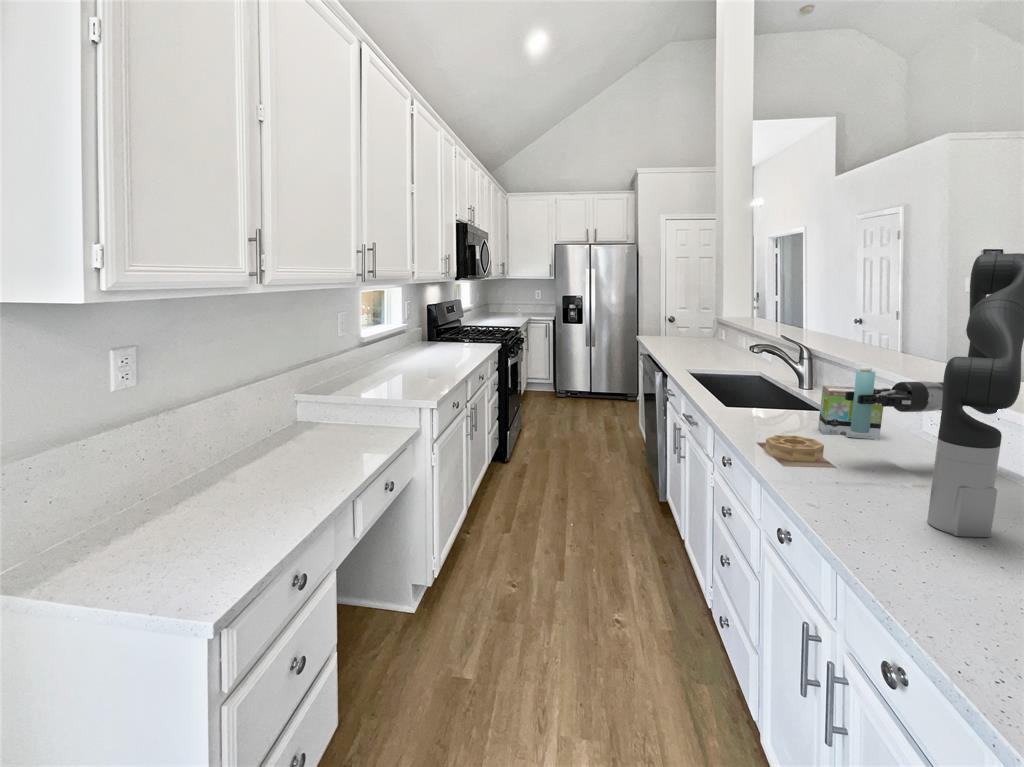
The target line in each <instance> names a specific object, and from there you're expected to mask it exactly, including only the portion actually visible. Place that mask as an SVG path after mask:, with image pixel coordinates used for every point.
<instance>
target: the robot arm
mask: <svg viewBox="0 0 1024 767" xmlns="http://www.w3.org/2000/svg"><path fill="white" fill-rule="evenodd" d="M965 332H966V336H967V338H968V340H969V346H968V352H967V353H968V354H967V356H954V357H951V358H950V359H949V360H948V361H947V364H945V365H946V366H945V369H944V373H943V380H942V381H941V382H940V381H935V382H934V381H933V382H932V381H900V382H896V383H895V384H894V386H892V388H890V387H889V388H888V387H883V388H875V387H874V391H873V395H858V400H857V403H858V404H874V405H881V406H883V408H884V407H890V408H892V407H893V408H894V409H895V410H896V411H898V412H901V413H919V412H922V413H923V412H925V413H926V412H934V411H935V412H936V411H941V412H940V422H939V429H938V435H937V443H936V452H935V457H934V458H935V459H934V464H933V465H934V466H933V471H932V472H933V473H932V480H931V488H930V495H929V496H930V497H929V505H928V513H927V523H928V524H929V525H930V526H931V527H933V528H936V529H938V530H940V531H943V532H946V533H948V534H951V535H953V536H956V537H969V538H970V537H975V538H991V536H992V528H993V522H994V515H995V509H996V502H997V496H998V489H997V488H996V487H995V485H996V479H997V470H998V464H999V457H1000V450H1001V443H1002V436H1003V435H1002V432H1001V430H999V428H997V427H994V426H992V425H990V424H987V423H986V422H985V423H984V422H982V421H980V420H978V419H976V418H975V417H973V416H971V415H970V414H969V413H967V412H966V411H965V410H964V408H963V407H970V409H971V408H972V409H973V410H975V411H977V412H979V413H981V414H984V415H994V414H997V413H998V412H997V410H998V409H1001V410H1006V409H1009V408H1011V407H1013V406H1014V404H1015V402H1017V399H1018V397H1019V394H1020V391H1021V390H1020V389H1021V383H1022V351H1023V350H1022V349H1023V344H1024V253H1018V252H1017V253H985V254H984V253H983V254H980V255H978V256H977V257H976V258H975V260H974V262H973V265H972V268H971V272H970V281H969V317H968V319H967V324H966V328H965ZM845 400H848V401H853V400H854V391H849V392H846V394H845ZM996 412H997V413H996Z"/></svg>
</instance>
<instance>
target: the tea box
mask: <svg viewBox="0 0 1024 767" xmlns="http://www.w3.org/2000/svg"><path fill="white" fill-rule="evenodd" d="M854 389H855V386H844V385H843V386H839V385H823V386H822V389H821V390H822V391H821V399H820V407H819V418H818V430H819V431H820V433H822V434H823V435H825V436H826V435H827V436H844V437H845V438H855V439H865V440H866V439H867V440H874V439H878V440H879V439H880V437H881V436H880V435H881V428H882V422H883V413H884V407H883V406H881V405H874V404H872V411H871V421H870V431H869V433H858V432H853V431H851V420H852V410H853V401H848V400H845V394H846V392H849V391H854Z"/></svg>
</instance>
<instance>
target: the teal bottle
mask: <svg viewBox="0 0 1024 767" xmlns="http://www.w3.org/2000/svg"><path fill="white" fill-rule="evenodd" d="M859 369H860V370H856V371H855V379H854V380H855V381H854V387H855V389H854V400H853V410H852V420H851V431H853V432H858V433H869V431H870V421H871V411H872V404H858V403H857V400H858V395H873V391H874V388H875V381H876V380H875V379H876V372H875V371H873V367H868V366H860V367H859Z"/></svg>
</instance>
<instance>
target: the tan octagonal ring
mask: <svg viewBox="0 0 1024 767" xmlns="http://www.w3.org/2000/svg"><path fill="white" fill-rule="evenodd" d="M765 443H766V448H765V450H764V451H765V452H766V453H767V454H768V453H769V454H768V455H770V456H771V457H772V458H773V457H777V458H781V459H785V460H789V461H806V462H814V461H817V460H819V459H821V458H824V451H825V450H824V449H825V444H823V443H822V442H820V441H819V440H817V439H815V438H809V437H806V436H799V435H792V434H791V435H785V434H783V435H781V434H774V435H772V436H769V437H766V440H765Z"/></svg>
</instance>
